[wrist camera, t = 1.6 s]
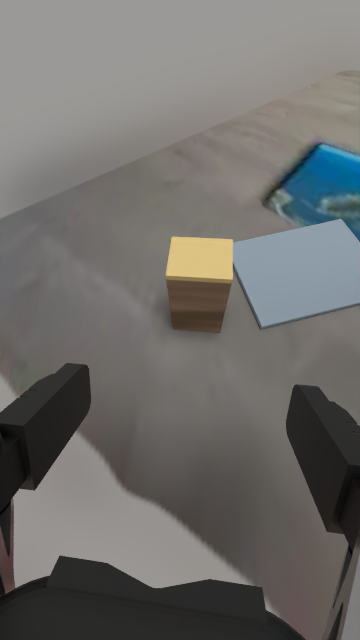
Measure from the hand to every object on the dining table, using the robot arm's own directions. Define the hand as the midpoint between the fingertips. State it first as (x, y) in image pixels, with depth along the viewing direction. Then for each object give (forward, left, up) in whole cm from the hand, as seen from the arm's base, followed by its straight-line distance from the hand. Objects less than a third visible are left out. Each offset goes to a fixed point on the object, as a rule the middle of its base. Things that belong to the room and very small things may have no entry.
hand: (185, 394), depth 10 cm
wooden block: (-4, -11, -15) cm, 19 cm away
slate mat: (-18, -13, -15) cm, 27 cm away
